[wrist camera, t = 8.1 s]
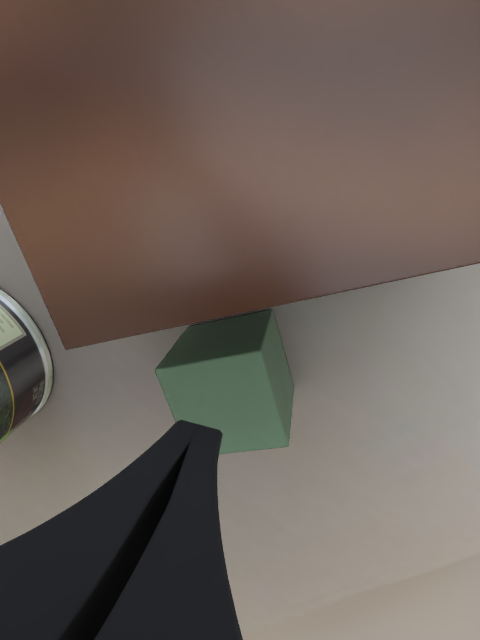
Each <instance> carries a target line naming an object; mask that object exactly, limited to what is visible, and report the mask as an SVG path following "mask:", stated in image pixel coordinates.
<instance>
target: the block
mask: <svg viewBox="0 0 480 640" xmlns="http://www.w3.org/2000/svg"><path fill="white" fill-rule="evenodd" d="M155 372H156V375H157V377H158V380H159V382H160V385H161V387H162V390H163V392H164V395H165V397H166V400H167V402H168V404H169V407H170V409H171V412H172V414H173V417H174V419H175V422H177V421H179V420H185V421H188V422H192V423H196V424H200V425H203V426H207V427H211V428H215V429H218V430H220V431H221V432H222V434H223V436H222V441H221V446H220V451H219V454H225V453H234V452H244V451H253V450H263V449H272V448H282V447H288V446H289V438H290V427H291V416H292V405H293V394H294V385H293V382H292V378H291V374H290V371H289V367H288V363H287V360H286V356H285V352H284V348H283V345H282V341H281V337H280V334H279V330H278V326H277V323H276V319H275V315H274V312H273V310H266V311H261V312H257V313H252V314H247V315H242V316H237V317H233V318H228V319H223V320H218V321H213V322H209V323H204V324H199V325H194V326H189V327H188V328H187V329H186V330H185V332H184V333H183V334H182V336H181V337H180V338H179V339H178V341H177V342H176V343H175V345H174V346H173V347H172V348H171V350H170V351H169V352H168V353H167V355H166V356H165V357H164V359H163V360H162V361H161V362H160V364H159V365H158V366H157V368H156V369H155Z"/></svg>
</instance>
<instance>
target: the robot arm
mask: <svg viewBox="0 0 480 640" xmlns="http://www.w3.org/2000/svg"><path fill="white" fill-rule="evenodd" d="M222 436H223V434H222V432H221V431H220V430H218V429H215V428H211V427H207V426H203V425H200V424H196V423H192V422H188V421H185V420H179V421H177V422H176V423H175V424H174V425H173V426H172V427H171V428H170V429H169V430H168V431H167V432H166V433H165V434H164V435H163V436H162V437H161V438H160V439H159V440H158V441H157V442H156V443H154V444H153V445H152V446H151V447H150V448H149V449H148V450H147V451H145V452H144V453H143V454H142V455H141V456H140V457H138V458H137V459H136V460H135V461H134V462H133V463H131V464H130V465H129V466H128V467H126V468H125V469H124V470H122V471H121V472H120V473H119V474H117V475H116V476H115V477H113V478H112V479H111V480H109V481H108V482H107V483H105V484H104V485H103V486H101V487H100V488H98V489H97V490H96V491H94V492H93V493H91V494H90V495H88V496H87V497H85V498H84V499H82V500H81V501H79V502H78V503H76V504H75V505H73V506H71V507H70V508H68V509H66V510H65V511H63V512H61V513H60V514H58V515H56V516H55V517H53V518H51V519H50V520H48V521H46V522H45V523H43V524H41V525H39V526H37V527H36V528H34V529H32V530H30V531H28V532H26V533H25V534H23V535H21V536H19V537H17V538H15V539H13V540H11V541H9V542H7V543H5V544H3V545H1V546H0V640H243V639H242V635H241V631H240V628H239V624H238V620H237V616H236V611H235V607H234V602H233V598H232V594H231V589H230V585H229V580H228V575H227V570H226V564H225V558H224V552H223V546H222V539H221V531H220V522H219V511H218V496H217V463H218V456H219V451H220V446H221V441H222Z"/></svg>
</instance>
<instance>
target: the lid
mask: <svg viewBox="0 0 480 640" xmlns="http://www.w3.org/2000/svg"><path fill="white" fill-rule="evenodd" d="M0 204H1V206H2V208H3V210H4V213H5V215H6V217H7V219H8V222H9V224H10V226H11V228H12V231H13V233H14V235H15V237H16V240H17V242H18V244H19V246H20V249H21V251H22V253H23V255H24V258H25V260H26V262H27V264H28V266H29V269H30V271H31V273H32V275H33V278H34V280H35V282H36V284H37V287H38V289H39V291H40V293H41V296H42V298H43V300H44V302H45V305H46V307H47V309H48V311H49V314H50V316H51V318H52V320H53V323H54V325H55V327H56V329H57V331H58V334H59V336H60V338H61V340H62V343H63V345H64V347H65V349H66V350H68V349H73V348H78V347H82V346H87V345H92V344H97V343H101V342H106V341H111V340H116V339H121V338H125V337H130V336H135V335H140V334H144V333H149V332H154V331H159V330H163V329H168V328H173V327H178V326H182V325H187V324H192V323H197V322H201V321H206V320H211V319H216V318H221V317H225V316H230V315H235V314H240V313H244V312H249V311H254V310H259V309H263V308H268V307H273V306H278V305H282V304H287V303H292V302H297V301H302V300H306V299H311V298H316V297H321V296H325V295H330V294H335V293H340V292H344V291H349V290H354V289H359V288H363V287H368V286H373V285H378V284H383V283H387V282H392V281H397V280H402V279H406V278H411V277H416V276H421V275H425V274H430V273H435V272H440V271H444V270H449V269H454V268H459V267H463V266H468V265H473V264H478V263H480V0H0Z"/></svg>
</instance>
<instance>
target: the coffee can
mask: <svg viewBox="0 0 480 640" xmlns="http://www.w3.org/2000/svg"><path fill="white" fill-rule="evenodd" d="M52 383H53V367H52V360H51V356H50V353H49V350H48V347H47V344H46V342H45V340H44V338H43V336H42V334H41V332H40V330H39V328H38V327H37V325H36V324H35V322H34V321H33V319H32V318H31V317H30V316H29V315H28V314H27V312H26V311H25V310H24V309H23V308H22V307H21V306H20V305H19V304H18V303H17V302H16V301H15V300H14V299H13V298H11V297H10V296H9V295H8V294H6V293H5V292H4V291H2V290H1V289H0V442H2V441H3V440H4V439H5V438H7V437H8V436H9V435H10V434H11V433H12V432H13V431H14V430H15V429H17V428H18V427H19V426H20V425H21V424H22V423H23V422H24V421H26V420H27V419H28V418H30V417H31V416H33V415H34V414H36V413H37V412H38V411H39V410H40V409H41V408H42V406H43V405H44V404H45V402H46V401H47V399H48V397H49V394H50V392H51V388H52Z"/></svg>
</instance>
